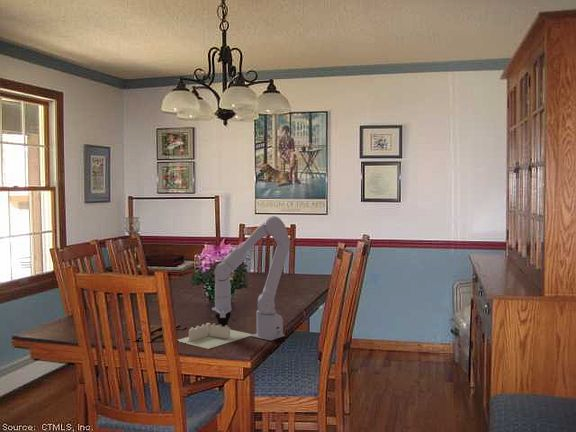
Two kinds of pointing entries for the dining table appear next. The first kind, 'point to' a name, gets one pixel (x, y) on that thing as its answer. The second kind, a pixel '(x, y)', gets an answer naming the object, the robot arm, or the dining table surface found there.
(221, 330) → the folding fence panel
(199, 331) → the fence post and fixed panel
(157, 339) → the decorative fence
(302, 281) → the dining table surface
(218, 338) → the card
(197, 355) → the dining table surface
